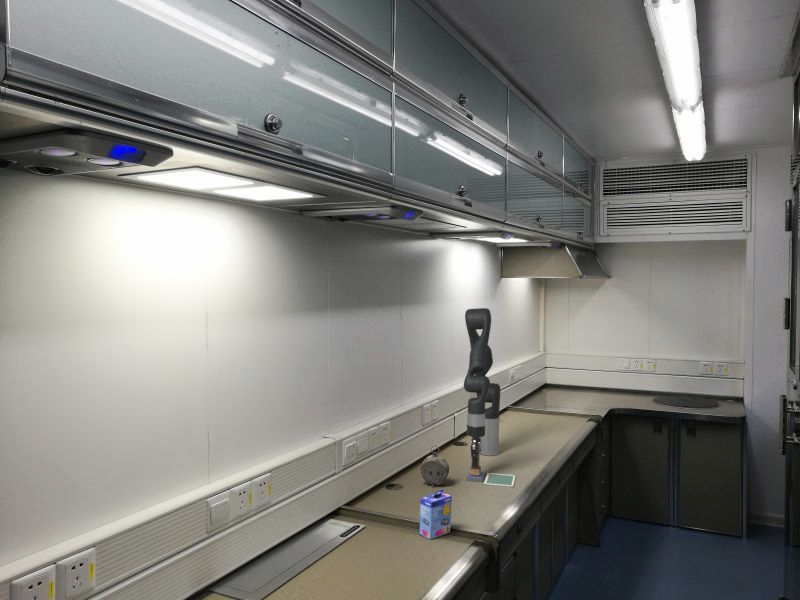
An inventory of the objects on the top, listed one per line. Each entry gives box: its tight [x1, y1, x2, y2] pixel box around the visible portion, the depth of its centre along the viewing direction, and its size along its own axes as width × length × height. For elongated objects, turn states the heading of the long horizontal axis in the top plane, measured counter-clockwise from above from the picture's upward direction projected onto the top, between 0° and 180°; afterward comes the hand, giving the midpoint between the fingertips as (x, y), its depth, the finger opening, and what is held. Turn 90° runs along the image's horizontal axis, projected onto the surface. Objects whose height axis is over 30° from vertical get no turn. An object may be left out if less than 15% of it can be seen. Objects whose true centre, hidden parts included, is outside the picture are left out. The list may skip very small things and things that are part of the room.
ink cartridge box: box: [419, 489, 453, 541], centre depth 203 cm, size 10×6×14 cm, turn 135°
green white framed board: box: [483, 472, 516, 488], centre depth 259 cm, size 15×12×1 cm
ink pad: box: [465, 471, 485, 483], centre depth 261 cm, size 8×6×2 cm
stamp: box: [468, 448, 482, 477], centre depth 261 cm, size 6×4×10 cm
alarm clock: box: [420, 445, 450, 488], centre depth 250 cm, size 11×5×16 cm, turn 74°
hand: (475, 465), depth 261 cm, fingers closed on stamp, 3 cm apart
